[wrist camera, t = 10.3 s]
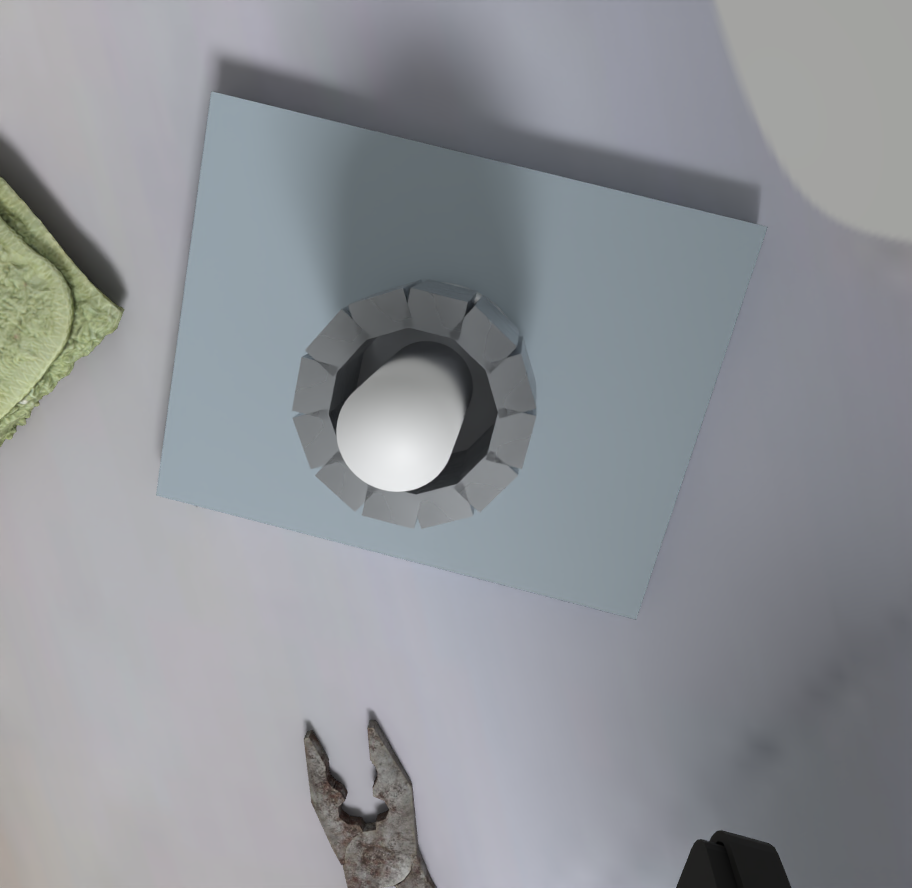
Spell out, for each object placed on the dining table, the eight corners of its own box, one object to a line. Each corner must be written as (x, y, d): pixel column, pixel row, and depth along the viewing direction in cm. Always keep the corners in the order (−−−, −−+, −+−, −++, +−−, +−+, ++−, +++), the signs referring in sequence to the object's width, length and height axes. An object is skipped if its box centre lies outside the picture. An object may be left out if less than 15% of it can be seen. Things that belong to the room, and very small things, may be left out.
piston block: (757, 226, 26) (882, 227, 17) (632, 604, 30) (676, 776, 21) (225, 96, 26) (57, 27, 17) (170, 485, 30) (9, 599, 21)
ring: (557, 311, 24) (561, 325, 20) (504, 508, 25) (499, 551, 22) (348, 259, 24) (318, 264, 20) (310, 458, 26) (276, 493, 22)
